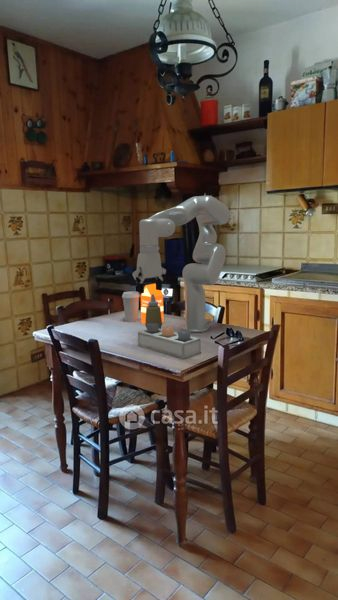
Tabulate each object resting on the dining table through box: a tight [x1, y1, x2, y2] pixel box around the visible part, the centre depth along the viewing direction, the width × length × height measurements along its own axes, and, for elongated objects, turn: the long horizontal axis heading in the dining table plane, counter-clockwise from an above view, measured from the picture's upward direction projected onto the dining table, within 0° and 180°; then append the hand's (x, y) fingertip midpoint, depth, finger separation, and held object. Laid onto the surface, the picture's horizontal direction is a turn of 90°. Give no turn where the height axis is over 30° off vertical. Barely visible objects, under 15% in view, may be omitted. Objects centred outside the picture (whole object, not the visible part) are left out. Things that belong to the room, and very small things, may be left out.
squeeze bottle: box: [144, 294, 163, 329], centre depth 200 cm, size 8×8×18 cm
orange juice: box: [140, 283, 165, 325], centre depth 218 cm, size 8×9×20 cm
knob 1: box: [146, 323, 159, 334], centre depth 179 cm, size 5×5×5 cm
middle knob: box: [161, 326, 175, 338], centre depth 172 cm, size 5×5×5 cm
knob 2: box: [177, 329, 191, 342], centre depth 166 cm, size 5×5×5 cm
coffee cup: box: [121, 290, 141, 323], centre depth 224 cm, size 10×10×15 cm
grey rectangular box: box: [137, 328, 202, 360], centre depth 173 cm, size 10×26×6 cm, turn 45°
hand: (150, 291), depth 176 cm, fingers open, 9 cm apart
